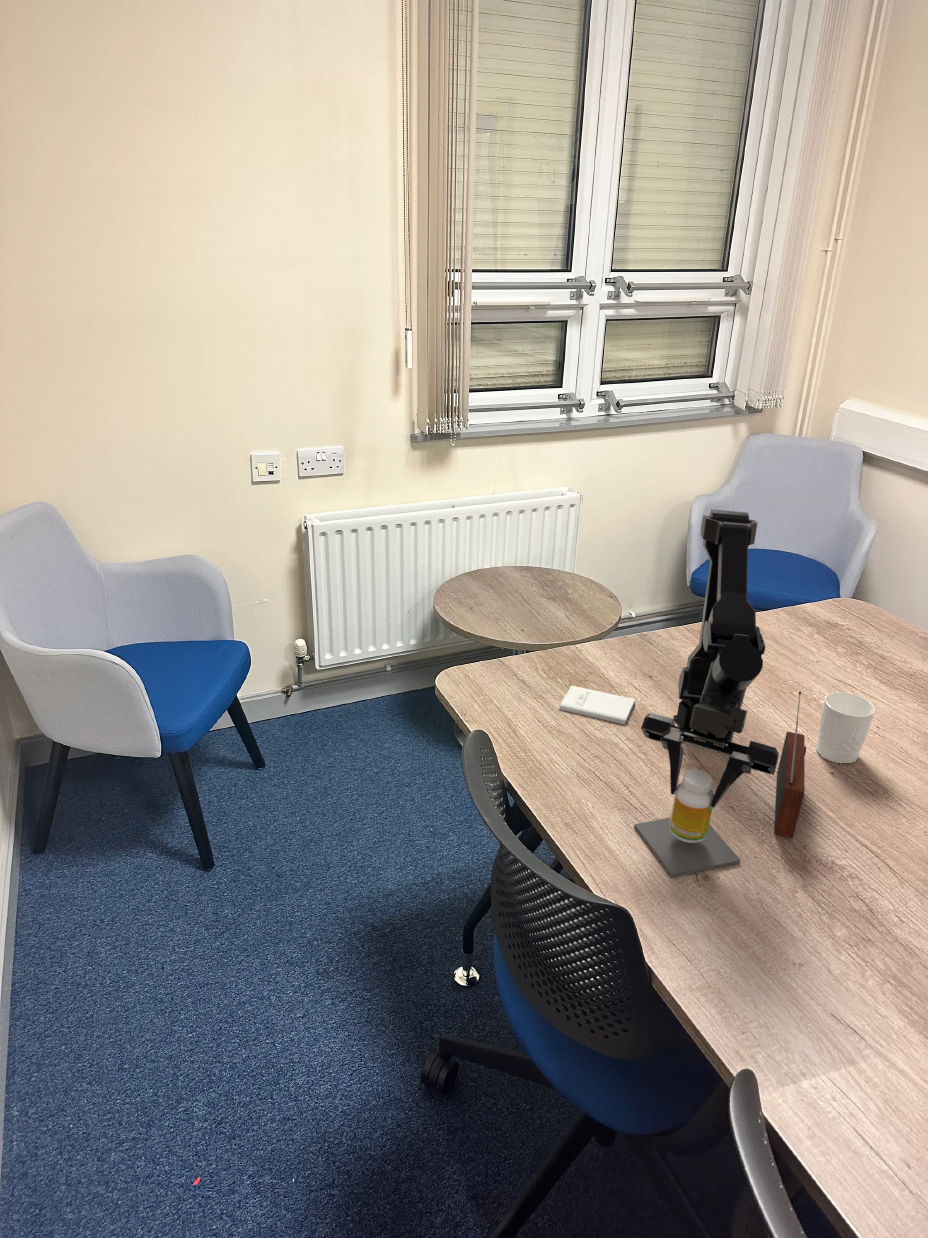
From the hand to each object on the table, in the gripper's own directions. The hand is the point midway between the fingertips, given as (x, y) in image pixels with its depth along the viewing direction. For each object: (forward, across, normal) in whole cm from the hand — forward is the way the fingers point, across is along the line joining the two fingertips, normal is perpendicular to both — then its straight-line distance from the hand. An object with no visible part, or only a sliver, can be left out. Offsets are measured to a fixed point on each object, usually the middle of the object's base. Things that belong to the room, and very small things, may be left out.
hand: (692, 800), depth 117 cm
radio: (-7, +11, +20) cm, 24 cm away
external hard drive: (-15, -24, +29) cm, 41 cm away
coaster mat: (+6, 0, +7) cm, 9 cm away
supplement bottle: (+4, 0, +6) cm, 7 cm away
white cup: (-20, +17, +33) cm, 43 cm away
